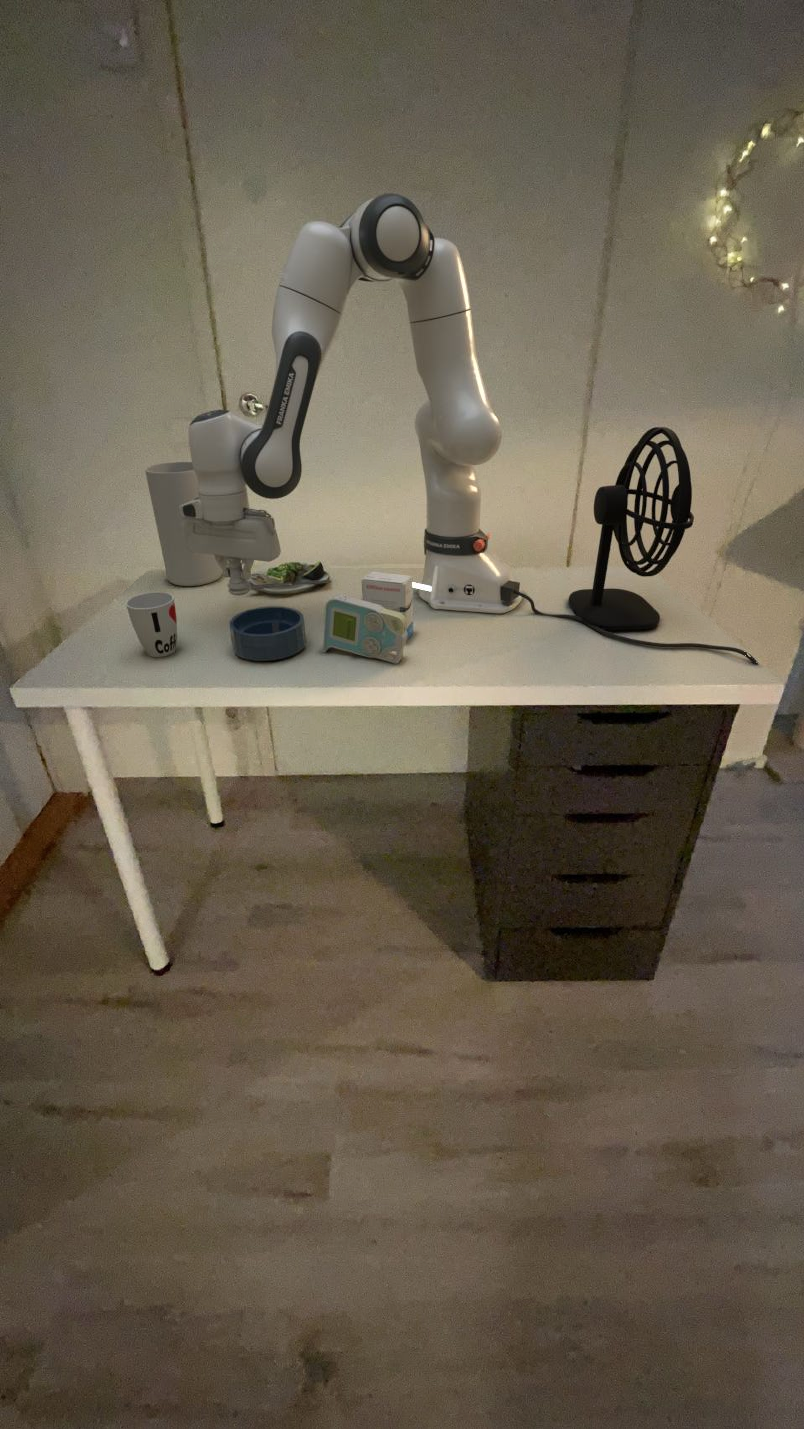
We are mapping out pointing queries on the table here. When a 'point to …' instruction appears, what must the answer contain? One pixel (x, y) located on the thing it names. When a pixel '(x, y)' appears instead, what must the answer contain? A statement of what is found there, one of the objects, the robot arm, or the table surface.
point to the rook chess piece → (236, 578)
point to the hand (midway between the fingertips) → (237, 577)
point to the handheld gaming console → (364, 628)
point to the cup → (154, 622)
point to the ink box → (390, 594)
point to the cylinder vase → (178, 523)
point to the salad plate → (290, 578)
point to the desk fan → (636, 536)
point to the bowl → (268, 633)
